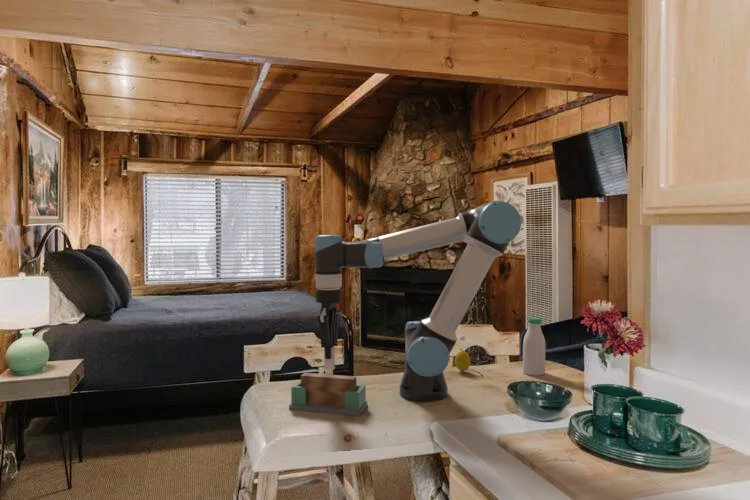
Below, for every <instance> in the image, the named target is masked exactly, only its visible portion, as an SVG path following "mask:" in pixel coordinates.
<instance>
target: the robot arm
mask: <svg viewBox="0 0 750 500" xmlns="http://www.w3.org/2000/svg"><path fill="white" fill-rule="evenodd" d="M521 227H522V218H521V214H520V212H519V211H518V209H517V208H516V207H515V206H514V205H513V204H512V203H510V202H506V201H503V200H492V201H490V202H486V203H483V204H481V205H479V206H476V207H474V208H472V209H470V210H467V211H464V212H463V211H462V212H460V213H458V215H457V216H456V217H452V218H449V219H448V218H447V219H444V220H441V221H436V222H433V223H429V224H425V225H419V226H417V227H412V228H408V229H405V230H400V231H396V232H392V233H388V234H383V235H380V236H379V235H378V236H376V237H372V238H371V237H370V238H368V239H362V240H359V241H342V236H341V235H339V234H322V235H320V234H319V235H318V236H316V237H315V244H314V245H315V247H314V248H315V249H314V258H315V259H314V260H315V263H314V264H315V276H314V277H313V279H314V280H315V288H316V289H315V302H316V303H319V304H321V305H320V306H321V307H320V311H319V314H320V315H317V321H318V327H319V337H320V348H323V354H324V355H323V362H324V363H323V365H324V368H323V369H324V370H327V371H334V370H335V369H336V367H335V365H336V364H335V362H336V360H335V358H336V356H335V355H336V354H335V353H336V351H335V349H336V348H335V347H337V346H338V345H339V344H338V332H339V330H338V329H339V317H340V313H341V312H340V309H339V308H337V304H338V303H341V302H342V300H343V293H342V292H343V291H342V289H341V288H342V285H343V281H342V280H343V279H342V278H343V276H342V268H343V269H345V268H346V269H347V268H349V269H350V268H355V269H357V268H358V269H359V268H362V269H374V268H381V267H382V266H383V264H384V263H383V261H386V260H389V259H390V260H391V259H395V258H399V257H402V256H406V255H410V254H416V253H418V252H423V251H427V250H430V249H435V248H439V247H444V246H448V245H452V244H456V243H460V242H464V243H465V244H467V245H465V249H464V250H463V252H462V254H461V256H460V258H459V259H458V262H457V264H456V265H455V267H454V269H453V271H452V273H451V274H450V277H449V279H448V280H447V282H446V283H445V286H444V288H443V290H442V291H441V294H440V296H438V299H437V301H436V303H435V305H434V307H433V308H432V311H431V313H430V314H429V316H428V317H427V318H423V319H421V320H419V321H418V320H413V321H407V322H406V323H405V329H404V333H405V334H404V336H405V339H404V340H405V343H404V344H405V348H404V349H405V350H404V352H405V356H404V357H405V358H404V360H405V363H404V364H405V367H404V372H403V375H402V377H401V378H402V379H401V381H400V384H399V395H400V396H401V397H402V398H405V399H407V400H410V401H417V402H436V401H440V400H444V399H446V398H447V396H448V395H449V394H448V393H449V391H448V384H447V382H446V377H445V375H444V372H445V370H446V369H447V367H448V365H449V362H450V357H451V356H450V355H451V353H452V350H453V348H454V347H455V345H456V343H457V340H458V338H457V334H456V331H457V329H458V327H459V326H460V324H461V322H462V320H463V319H464V317H465V314H466V313H467V311H468V309H469V307H470V305H471V303H472V301H474V297H475V296H476V294H477V292H478V290H479V288H480V287H481V285H482V283H483V281H484V279H485V277H486V275H487V273H488V272H489V270H490V268H491V267H492V264H493V262H494V260H495V259H497V258H498V257H502V256H503V255H504V253H505V252H506V249H508V246H509V244H510V242H512V241H513V240H514V239H515V238H516V237H517V236H518V235H519V233H520V231H521Z"/></svg>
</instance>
